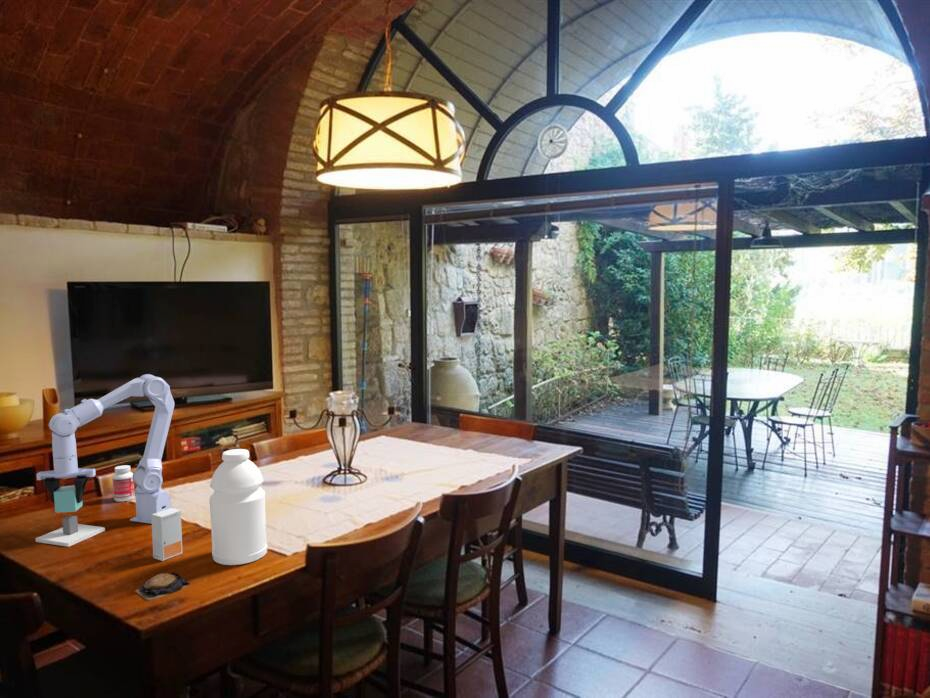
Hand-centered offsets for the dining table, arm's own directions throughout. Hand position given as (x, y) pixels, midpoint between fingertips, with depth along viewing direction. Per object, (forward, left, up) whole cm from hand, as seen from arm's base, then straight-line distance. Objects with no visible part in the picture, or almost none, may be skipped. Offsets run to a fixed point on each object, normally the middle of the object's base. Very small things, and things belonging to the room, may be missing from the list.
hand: (68, 502), depth 184 cm
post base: (0, 0, -10) cm, 10 cm away
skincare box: (-37, +3, -10) cm, 38 cm away
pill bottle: (+11, -30, -10) cm, 34 cm away
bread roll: (-49, +18, -11) cm, 54 cm away
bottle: (-55, -3, -10) cm, 56 cm away
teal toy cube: (0, 0, -2) cm, 2 cm away
